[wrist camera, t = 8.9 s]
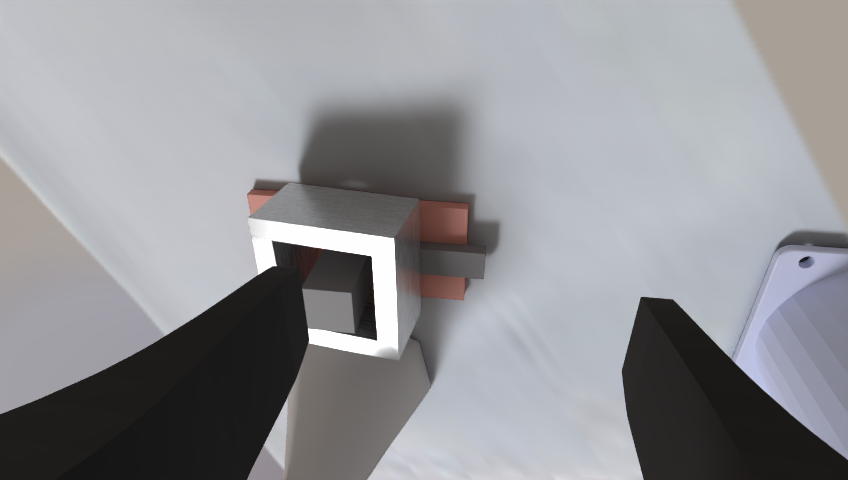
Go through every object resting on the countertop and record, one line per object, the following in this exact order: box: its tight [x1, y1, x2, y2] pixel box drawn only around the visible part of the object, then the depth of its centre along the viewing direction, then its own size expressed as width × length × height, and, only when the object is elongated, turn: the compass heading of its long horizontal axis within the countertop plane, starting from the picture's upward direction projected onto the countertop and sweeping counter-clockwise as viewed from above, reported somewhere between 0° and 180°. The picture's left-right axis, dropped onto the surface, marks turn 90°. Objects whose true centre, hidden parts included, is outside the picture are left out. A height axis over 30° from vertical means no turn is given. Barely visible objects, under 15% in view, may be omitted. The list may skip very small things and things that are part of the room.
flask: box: [282, 338, 431, 480], centre depth 23 cm, size 7×7×10 cm
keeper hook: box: [247, 189, 486, 334], centre depth 21 cm, size 10×4×5 cm, turn 90°
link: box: [248, 183, 421, 361], centre depth 21 cm, size 5×5×3 cm
